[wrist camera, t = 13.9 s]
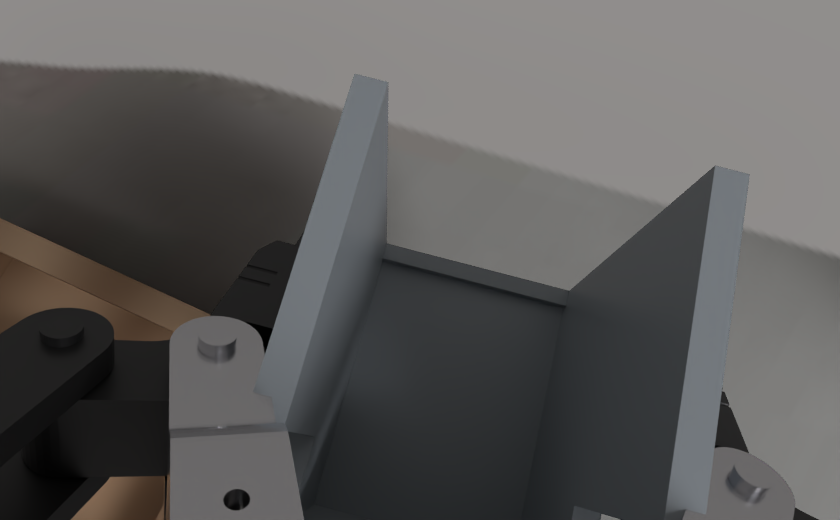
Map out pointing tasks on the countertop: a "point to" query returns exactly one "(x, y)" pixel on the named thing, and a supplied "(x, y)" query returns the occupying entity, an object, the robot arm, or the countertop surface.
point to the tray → (113, 299)
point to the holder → (498, 361)
